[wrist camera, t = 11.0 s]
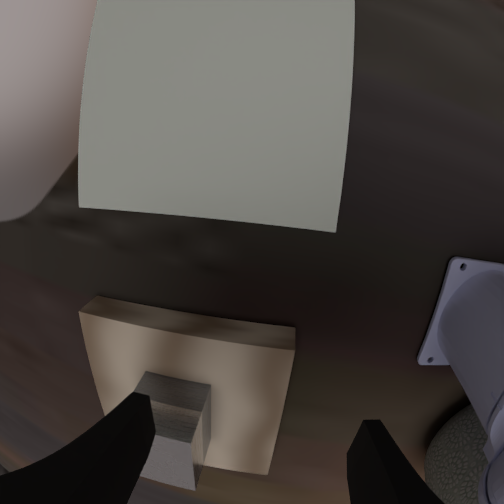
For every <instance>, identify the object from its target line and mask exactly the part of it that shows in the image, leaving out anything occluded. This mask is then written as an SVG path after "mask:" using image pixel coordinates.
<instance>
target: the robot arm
mask: <svg viewBox="0 0 504 504" xmlns="http://www.w3.org/2000/svg"><path fill="white" fill-rule="evenodd" d="M462 263H464V266H463V267H462V268H461V269H460V266H461V264H462ZM430 357H431V358H430ZM428 358H430V359H428ZM417 361H418V363H419V364H420V365H450V366H451V368H452V369H453V371H454V373H455V375H456V376H457V378H458V380H459V382H460V384H461V385H462V387H463V389H464V391H465V393H466V395H467V396H468V398H469V400H470V402H471V404H472V406H473V408H474V410H475V412H476V414H477V416H478V418H479V420H480V422H481V424H482V426H483V428H484V430H485V432H486V434H487V435H488V440H487V442H486V444H485V446H484V447H483V451H484V453H485V455H486V458H487V460H488V462H489V463H488V464H487V466H486V467H485V469H484V470H483V473H482V475H481V477H480V481H479V485H478V500H479V504H504V264H502V263H496V262H489V261H483V260H476V259H470V258H463V257H453V258H452V259H451V260H450V262H449V264H448V268H447V271H446V275H445V279H444V282H443V285H442V289H441V292H440V295H439V298H438V302H437V305H436V308H435V311H434V314H433V317H432V319H431V322H430V325H429V328H428V331H427V333H426V336H425V339H424V341H423V344H422V346H421V349H420V352H419V354H418V356H417ZM155 434H156V428H155V423H154V418H153V413H152V407H151V401H150V396H149V395H145V394H141V393H137V392H132V393H130V394H129V395H128V396H127V397H126V398H125V399H124V400H123V401H122V402H121V403H119V404H118V405H117V406H116V407H115V408H114V409H113V410H112V411H110V412H109V413H108V414H107V415H106V416H105V417H103V418H102V419H101V420H100V421H99V422H97V423H96V424H95V425H94V426H92V427H91V428H90V429H89V430H87V431H86V432H85V433H83V434H82V435H80V436H79V437H78V438H76V439H75V440H73V441H72V442H71V443H69V444H68V445H66V446H65V447H63V448H61V449H60V450H58V451H56V452H55V453H53V454H51V455H49V456H48V457H46V458H44V459H42V460H39V461H37V462H35V463H33V464H31V465H29V466H26V467H24V468H21V469H19V470H16V471H13V472H10V473H7V474H4V475H1V476H0V504H127V502H128V500H129V498H130V495H131V493H132V491H133V489H134V487H135V485H136V482H137V480H138V478H139V476H140V474H141V472H142V470H143V467H144V465H145V463H146V461H147V458H148V456H149V453H150V450H151V447H152V444H153V441H154V437H155ZM347 480H348V487H349V494H350V501H351V504H445V503H444V502H443V501H442V500H441V499H440V498H439V497H438V496H437V495H436V494H435V493H434V492H433V491H432V490H431V489H430V488H429V487H428V485H427V484H426V483H425V482H424V481H423V480H422V478H421V477H420V476H419V475H418V473H417V472H416V471H415V469H414V468H413V467H412V465H411V464H410V463H409V461H408V460H407V459H406V457H405V456H404V454H403V453H402V452H401V450H400V449H399V447H398V446H397V444H396V443H395V441H394V440H393V438H392V437H391V435H390V434H389V432H388V431H387V429H386V428H385V426H384V425H383V423H382V422H381V420H363V422H362V424H361V426H360V428H359V430H358V432H357V434H356V436H355V438H354V440H353V442H352V444H351V446H350V448H349V450H348V452H347Z"/></svg>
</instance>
